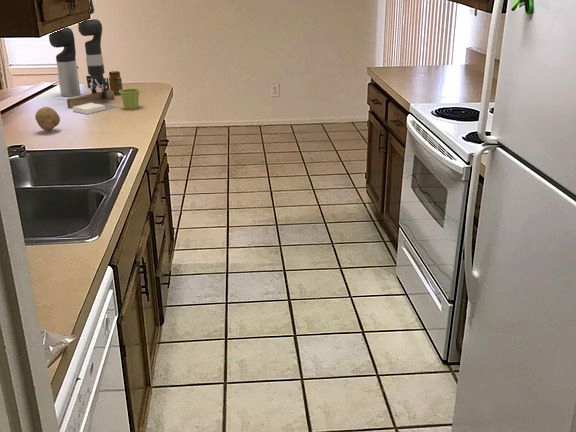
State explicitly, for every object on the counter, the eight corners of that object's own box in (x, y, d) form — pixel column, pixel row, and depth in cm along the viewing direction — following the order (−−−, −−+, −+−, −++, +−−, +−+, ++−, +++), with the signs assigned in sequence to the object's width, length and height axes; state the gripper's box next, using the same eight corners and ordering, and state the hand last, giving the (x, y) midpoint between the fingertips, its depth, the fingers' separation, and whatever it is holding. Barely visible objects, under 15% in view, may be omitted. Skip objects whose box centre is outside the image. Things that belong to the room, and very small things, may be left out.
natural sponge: (54, 127, 255) (50, 103, 252) (66, 130, 250) (62, 106, 246) (34, 131, 249) (29, 107, 245) (45, 135, 244) (41, 110, 240)
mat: (74, 110, 283) (74, 109, 282) (101, 104, 294) (101, 103, 293) (93, 114, 275) (92, 113, 274) (120, 108, 286) (119, 107, 285)
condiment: (120, 93, 317) (117, 70, 312) (128, 96, 311) (125, 72, 306) (107, 95, 313) (104, 71, 308) (114, 98, 307) (111, 74, 302)
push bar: (68, 109, 287) (66, 98, 285) (110, 100, 304) (109, 90, 302) (72, 110, 284) (71, 99, 283) (114, 101, 302) (113, 90, 300)
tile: (91, 107, 286) (73, 111, 279) (91, 102, 285) (72, 106, 278) (105, 110, 280) (86, 114, 273) (104, 105, 280) (86, 109, 272)
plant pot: (116, 110, 282) (114, 91, 279) (130, 106, 290) (128, 87, 287) (132, 112, 278) (130, 93, 275) (146, 107, 286) (144, 89, 283)
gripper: (79, 63, 292) (84, 98, 298) (98, 66, 284) (102, 101, 290) (92, 61, 297) (97, 95, 304) (111, 64, 289) (115, 98, 295)
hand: (99, 98), depth 297 cm, fingers open, 7 cm apart
